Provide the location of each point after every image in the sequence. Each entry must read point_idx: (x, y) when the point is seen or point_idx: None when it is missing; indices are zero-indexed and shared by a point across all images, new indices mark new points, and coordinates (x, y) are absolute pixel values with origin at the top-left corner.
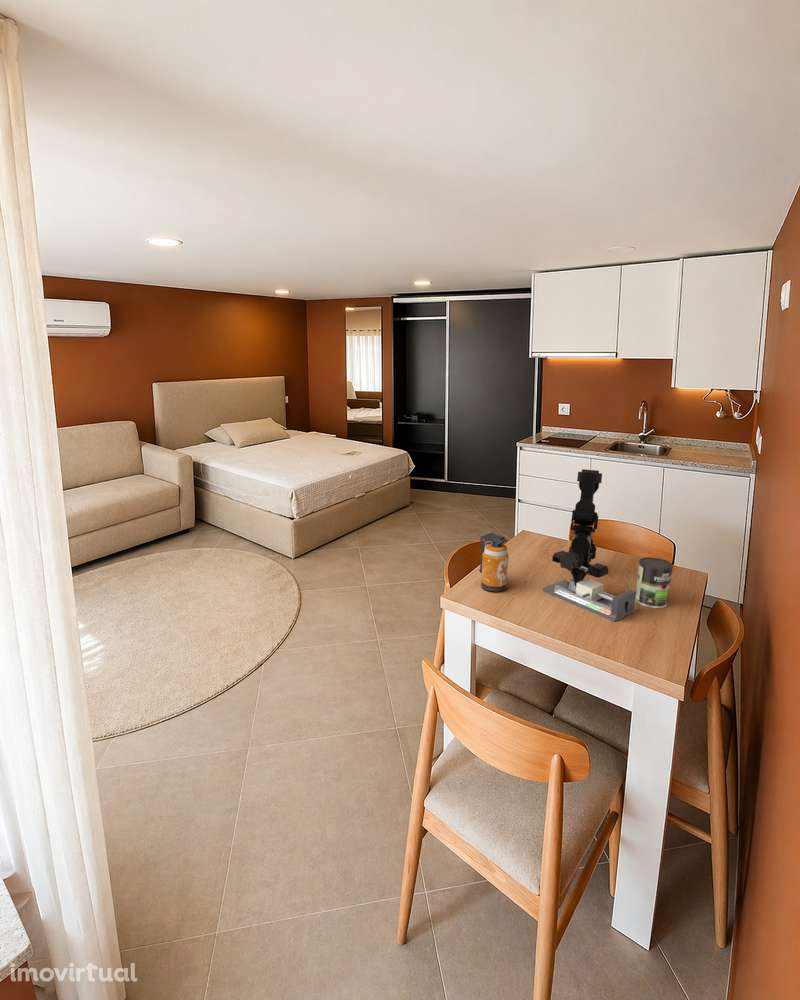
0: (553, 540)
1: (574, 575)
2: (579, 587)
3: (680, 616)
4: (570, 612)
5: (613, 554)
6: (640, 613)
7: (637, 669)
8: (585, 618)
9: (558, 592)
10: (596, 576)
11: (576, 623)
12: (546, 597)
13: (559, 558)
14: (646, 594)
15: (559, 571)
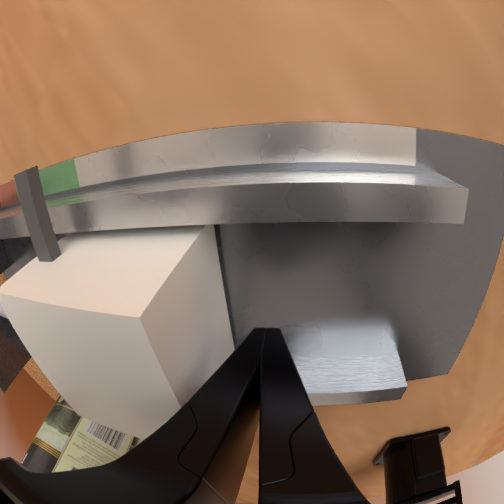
0: (499, 451)
1: (270, 453)
2: (121, 279)
3: (33, 371)
4: (103, 28)
5: (370, 496)
6: None
7: None
8: (29, 78)
9: (387, 157)
10: None
11: (31, 8)
12: (413, 51)
13: None
14: (59, 414)
15: (478, 402)
